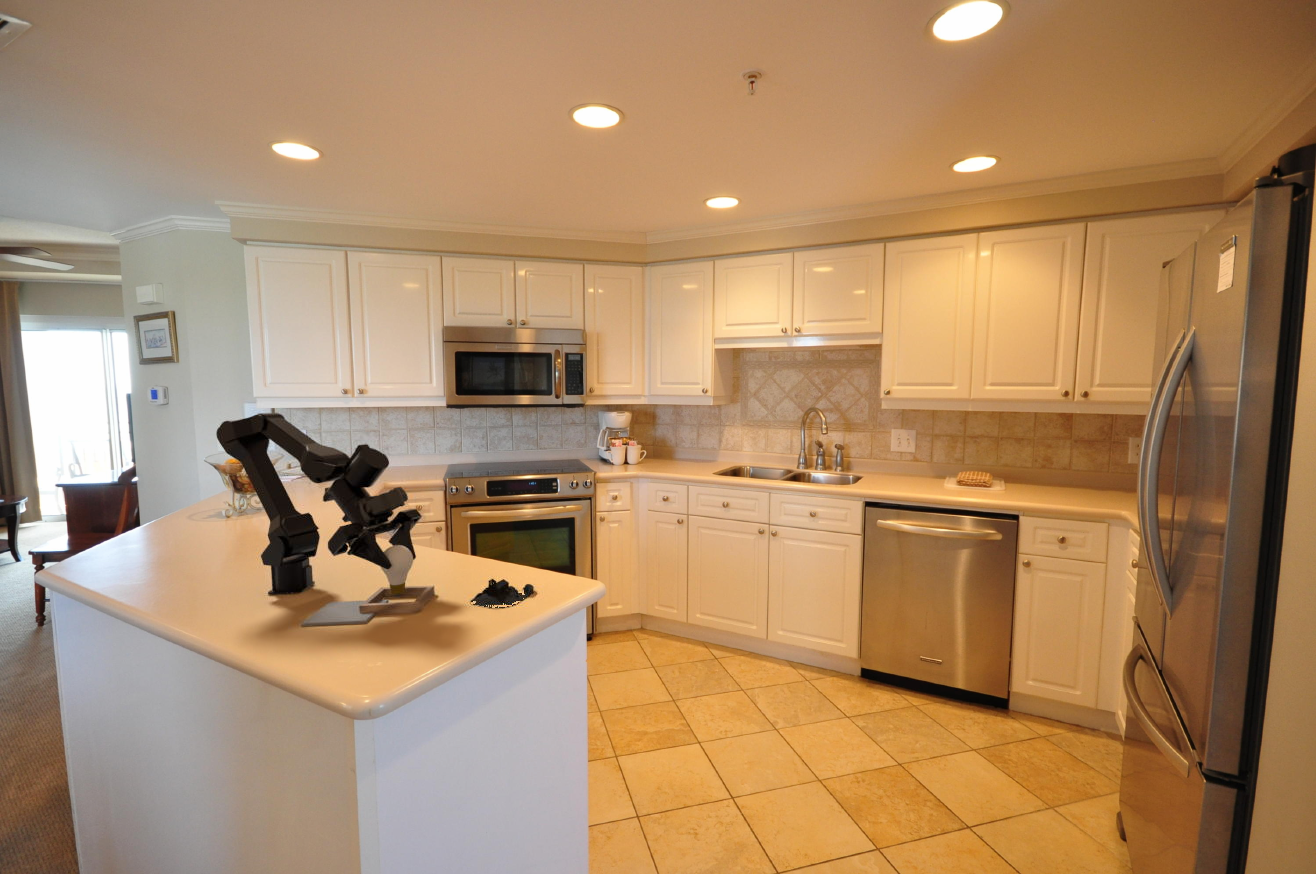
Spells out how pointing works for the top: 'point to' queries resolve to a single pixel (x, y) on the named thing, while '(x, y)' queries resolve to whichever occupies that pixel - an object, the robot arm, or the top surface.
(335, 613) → the coaster
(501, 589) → the black irregular lumpy piece
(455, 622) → the top surface
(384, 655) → the top surface
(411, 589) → the holder frame
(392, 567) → the light bulb
